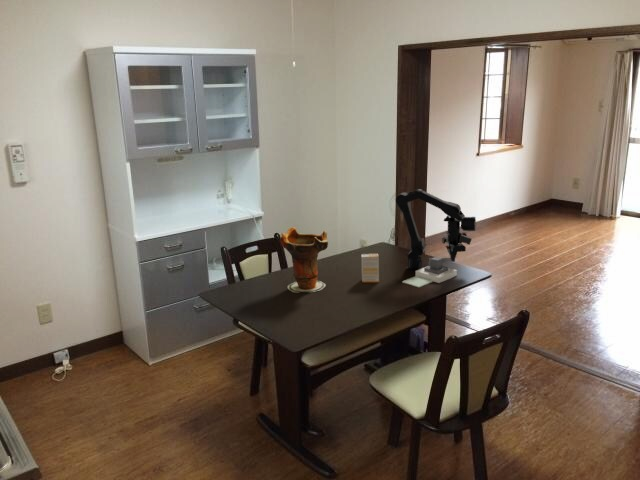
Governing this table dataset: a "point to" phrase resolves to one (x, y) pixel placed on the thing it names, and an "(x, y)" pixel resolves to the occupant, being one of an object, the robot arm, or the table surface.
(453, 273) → the socket block
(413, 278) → the pad
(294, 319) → the table surface
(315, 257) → the decorative vase
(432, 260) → the plug
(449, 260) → the bar
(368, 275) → the supplement box
